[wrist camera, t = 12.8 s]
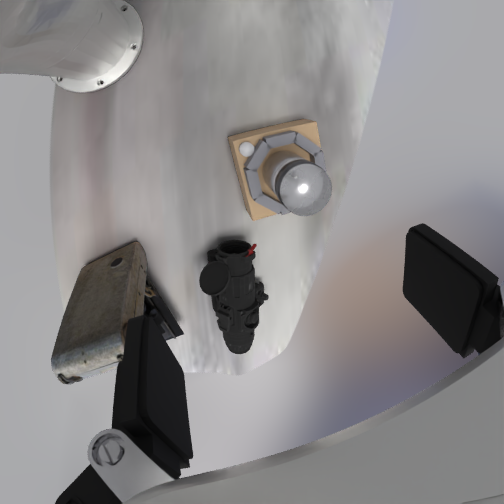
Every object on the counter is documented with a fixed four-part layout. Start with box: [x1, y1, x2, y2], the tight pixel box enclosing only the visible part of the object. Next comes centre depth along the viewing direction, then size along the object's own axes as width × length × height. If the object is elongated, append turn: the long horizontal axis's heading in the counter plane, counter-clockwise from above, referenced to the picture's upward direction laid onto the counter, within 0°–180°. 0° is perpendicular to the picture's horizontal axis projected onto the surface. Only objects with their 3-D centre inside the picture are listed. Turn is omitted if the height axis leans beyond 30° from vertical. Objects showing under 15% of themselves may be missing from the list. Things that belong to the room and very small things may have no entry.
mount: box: [228, 119, 326, 221], centre depth 37 cm, size 10×10×6 cm
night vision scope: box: [199, 240, 268, 354], centre depth 43 cm, size 8×18×10 cm
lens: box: [263, 150, 332, 216], centre depth 32 cm, size 5×5×8 cm
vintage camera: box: [51, 242, 184, 384], centre depth 35 cm, size 10×16×20 cm, turn 19°
